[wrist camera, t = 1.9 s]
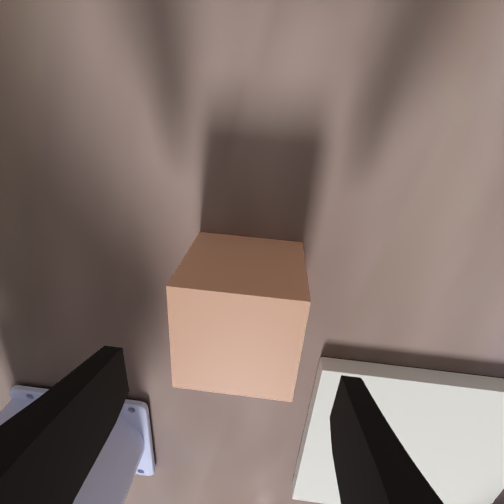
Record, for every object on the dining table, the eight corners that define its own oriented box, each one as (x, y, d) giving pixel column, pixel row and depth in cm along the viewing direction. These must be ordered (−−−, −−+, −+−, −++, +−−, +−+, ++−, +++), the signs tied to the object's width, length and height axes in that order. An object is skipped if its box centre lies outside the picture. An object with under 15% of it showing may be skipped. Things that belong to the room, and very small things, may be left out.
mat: (291, 484, 24) (292, 499, 23) (320, 356, 18) (322, 370, 17) (467, 508, 23) (475, 525, 22) (556, 384, 17) (571, 400, 16)
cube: (200, 313, 18) (172, 387, 13) (200, 231, 15) (166, 286, 11) (290, 323, 17) (292, 402, 13) (302, 241, 15) (310, 301, 11)
